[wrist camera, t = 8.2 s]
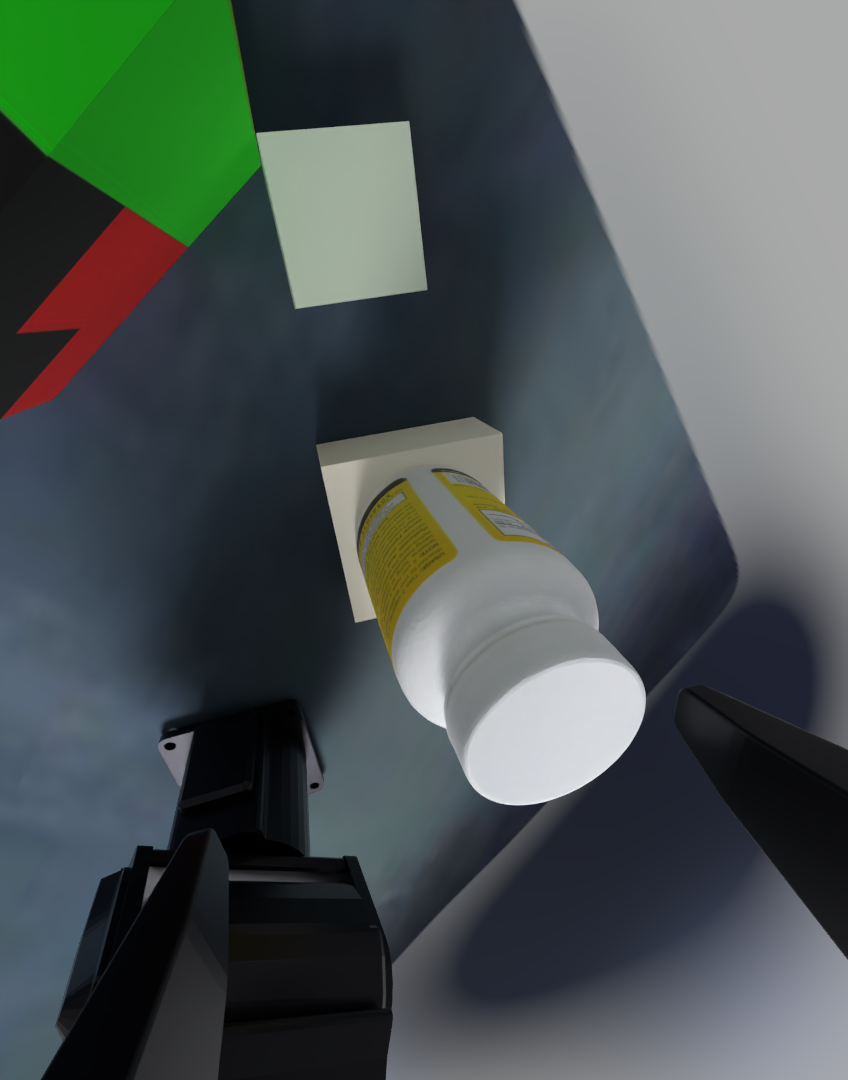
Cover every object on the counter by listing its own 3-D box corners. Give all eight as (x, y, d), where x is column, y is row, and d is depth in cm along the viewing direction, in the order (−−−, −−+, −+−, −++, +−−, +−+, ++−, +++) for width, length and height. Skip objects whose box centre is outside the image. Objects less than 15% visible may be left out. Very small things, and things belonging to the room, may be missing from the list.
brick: (405, 292, 17) (427, 290, 14) (294, 309, 16) (295, 308, 14) (387, 153, 15) (408, 121, 13) (261, 165, 14) (255, 132, 12)
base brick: (482, 553, 22) (507, 585, 20) (347, 584, 21) (355, 622, 19) (473, 416, 19) (502, 432, 17) (315, 444, 18) (320, 466, 16)
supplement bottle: (370, 609, 18) (444, 863, 10) (338, 481, 16) (401, 676, 7) (497, 573, 19) (666, 779, 11) (487, 446, 17) (694, 585, 8)
